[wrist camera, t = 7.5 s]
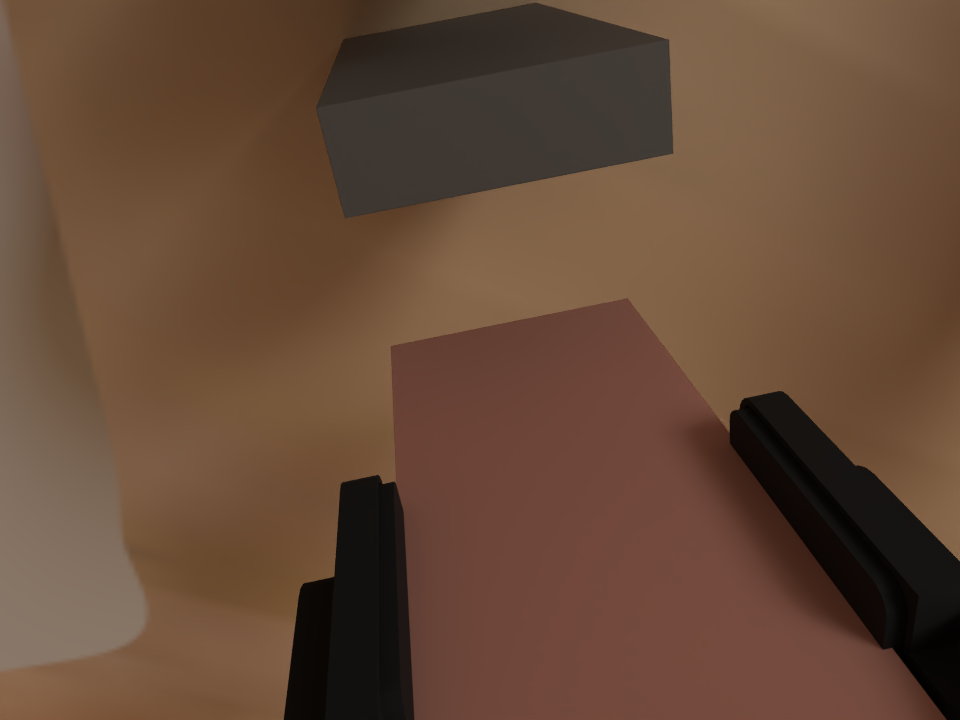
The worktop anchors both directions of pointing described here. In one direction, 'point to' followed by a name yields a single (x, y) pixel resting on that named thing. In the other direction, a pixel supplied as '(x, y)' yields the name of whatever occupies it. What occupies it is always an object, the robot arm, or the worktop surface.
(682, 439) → the domino
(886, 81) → the worktop surface
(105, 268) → the worktop surface
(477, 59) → the domino
